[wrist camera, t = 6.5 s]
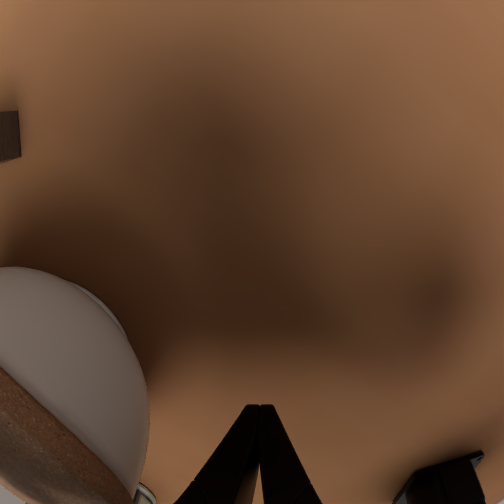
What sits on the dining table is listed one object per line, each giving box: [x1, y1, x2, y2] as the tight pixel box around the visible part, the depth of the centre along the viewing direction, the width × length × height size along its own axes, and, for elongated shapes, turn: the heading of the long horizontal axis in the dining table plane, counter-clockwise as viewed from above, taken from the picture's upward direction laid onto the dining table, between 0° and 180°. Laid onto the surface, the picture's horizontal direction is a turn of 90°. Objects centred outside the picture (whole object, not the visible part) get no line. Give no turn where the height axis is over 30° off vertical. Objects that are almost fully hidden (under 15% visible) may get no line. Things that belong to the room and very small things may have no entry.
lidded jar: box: [0, 266, 150, 504], centre depth 9 cm, size 11×11×9 cm
